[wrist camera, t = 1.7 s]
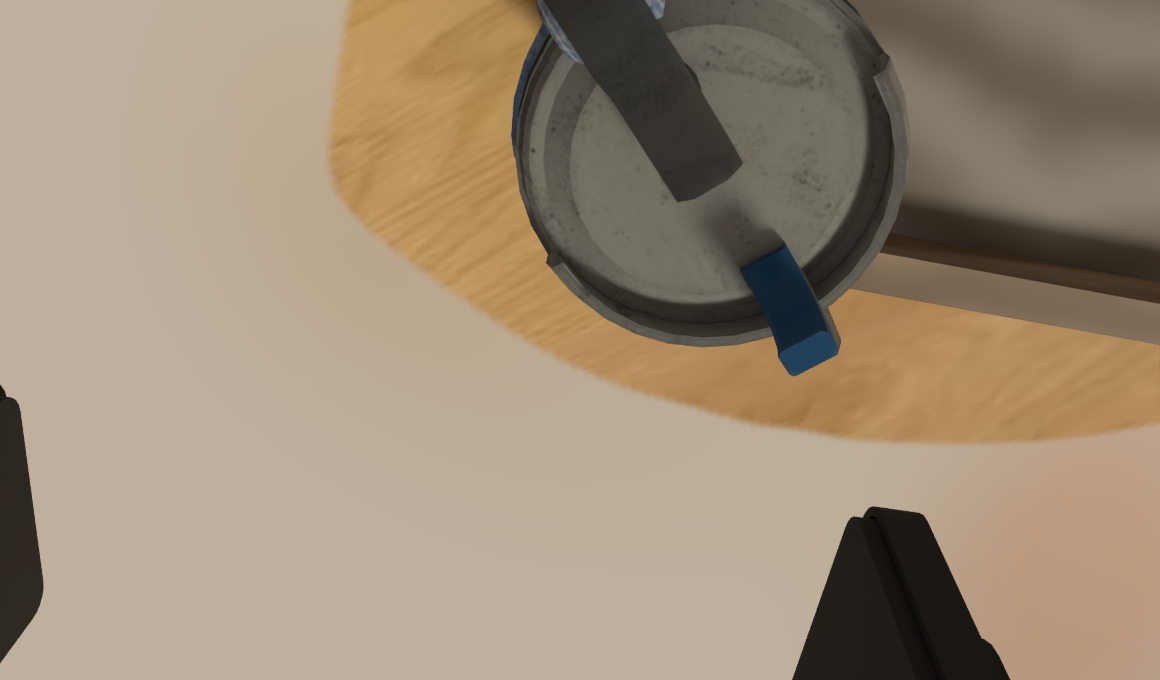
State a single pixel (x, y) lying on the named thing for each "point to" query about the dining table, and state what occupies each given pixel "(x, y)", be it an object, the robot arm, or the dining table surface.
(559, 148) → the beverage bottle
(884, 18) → the u rest
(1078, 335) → the dining table surface
